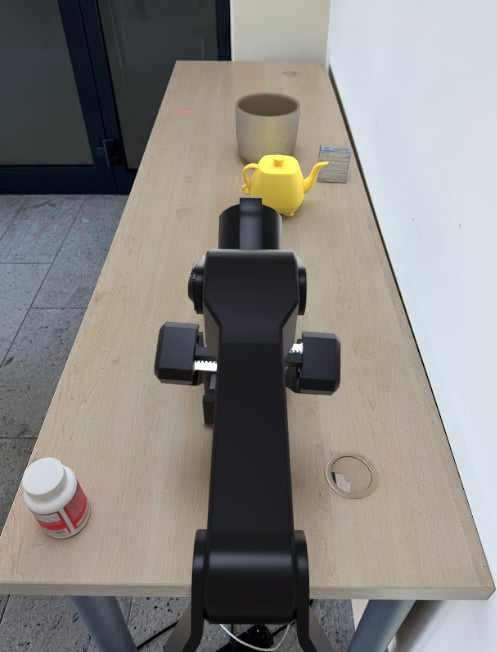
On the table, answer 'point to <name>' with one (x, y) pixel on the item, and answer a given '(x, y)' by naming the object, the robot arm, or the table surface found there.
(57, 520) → the pill bottle
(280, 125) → the planter
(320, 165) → the teapot
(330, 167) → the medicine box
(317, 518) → the table surface
